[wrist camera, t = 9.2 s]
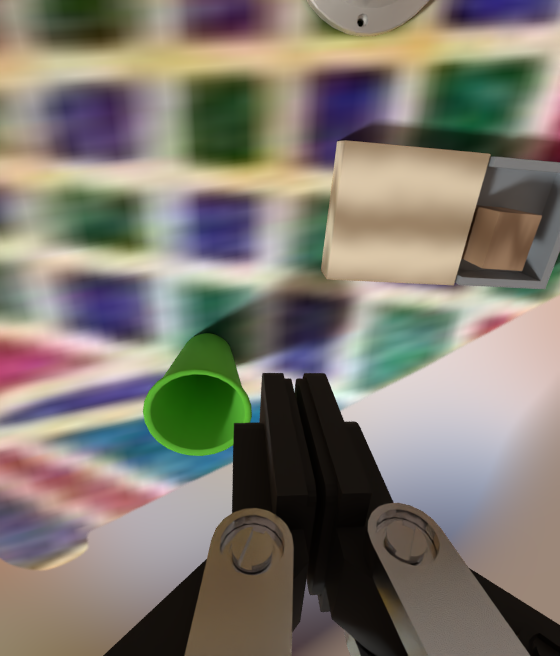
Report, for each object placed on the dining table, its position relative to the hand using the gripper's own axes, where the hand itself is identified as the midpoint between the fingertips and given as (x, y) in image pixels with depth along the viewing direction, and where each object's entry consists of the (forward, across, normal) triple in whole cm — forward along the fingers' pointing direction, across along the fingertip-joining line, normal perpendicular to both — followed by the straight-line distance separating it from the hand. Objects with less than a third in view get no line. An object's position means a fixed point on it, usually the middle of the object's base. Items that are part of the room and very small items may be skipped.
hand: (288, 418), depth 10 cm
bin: (+29, -25, -2) cm, 39 cm away
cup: (+29, +4, +14) cm, 33 cm away
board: (+29, -14, -2) cm, 32 cm away
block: (+26, -21, -1) cm, 33 cm away
